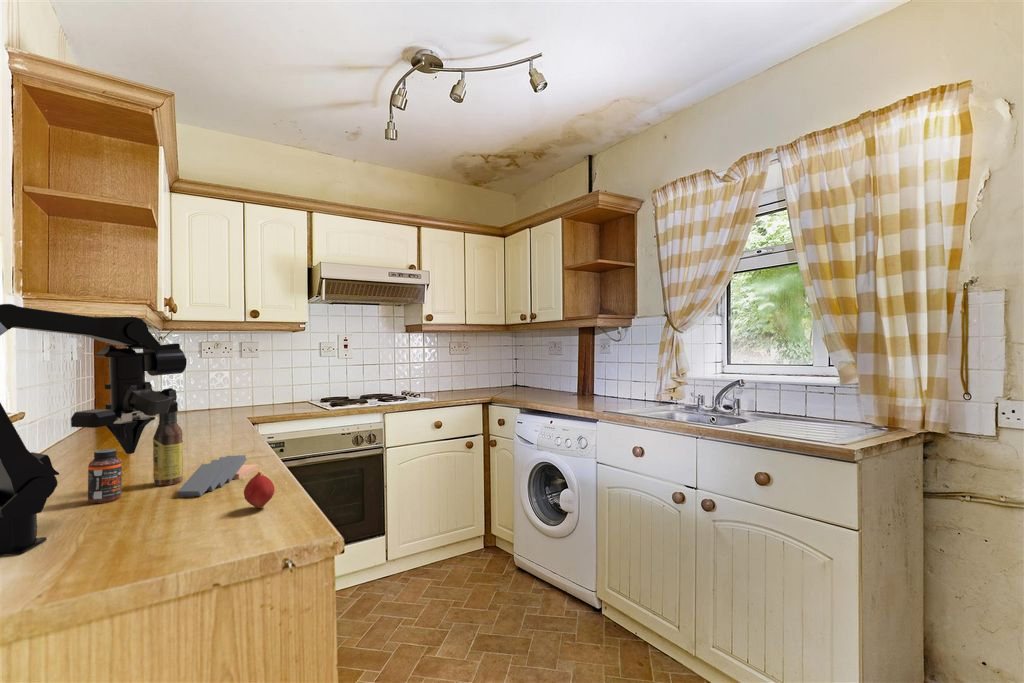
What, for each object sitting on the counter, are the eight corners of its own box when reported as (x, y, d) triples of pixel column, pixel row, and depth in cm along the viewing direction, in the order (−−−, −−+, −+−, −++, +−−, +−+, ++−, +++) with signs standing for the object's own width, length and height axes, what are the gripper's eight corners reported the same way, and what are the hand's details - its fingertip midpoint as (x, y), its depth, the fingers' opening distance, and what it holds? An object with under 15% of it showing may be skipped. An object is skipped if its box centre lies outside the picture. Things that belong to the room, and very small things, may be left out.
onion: (237, 510, 105) (237, 472, 105) (262, 502, 110) (262, 466, 110) (255, 514, 102) (255, 475, 102) (280, 506, 107) (279, 469, 107)
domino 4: (228, 476, 126) (245, 455, 135) (208, 477, 126) (226, 456, 135) (229, 482, 127) (246, 460, 136) (209, 483, 126) (227, 461, 136)
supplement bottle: (102, 505, 109) (102, 453, 109) (80, 503, 110) (80, 452, 110) (128, 496, 115) (128, 448, 115) (107, 495, 116) (107, 447, 116)
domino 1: (199, 491, 114) (222, 463, 123) (177, 491, 114) (202, 463, 123) (201, 496, 115) (223, 469, 124) (179, 496, 115) (203, 469, 124)
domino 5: (239, 473, 130) (258, 464, 140) (220, 473, 130) (241, 464, 140) (239, 479, 130) (258, 470, 140) (220, 479, 130) (241, 470, 140)
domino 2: (211, 485, 118) (232, 459, 127) (190, 485, 118) (212, 459, 127) (212, 491, 119) (233, 464, 128) (191, 491, 119) (214, 464, 128)
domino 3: (219, 482, 122) (239, 456, 131) (199, 482, 122) (220, 457, 131) (221, 487, 122) (240, 461, 132) (201, 487, 122) (221, 462, 132)
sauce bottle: (156, 481, 128) (156, 404, 128) (185, 478, 131) (184, 403, 131) (150, 488, 122) (150, 407, 122) (180, 485, 125) (180, 406, 125)
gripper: (117, 383, 91) (120, 468, 91) (198, 374, 109) (200, 444, 110) (67, 383, 93) (70, 465, 93) (155, 373, 111) (157, 442, 112)
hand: (130, 453), depth 102 cm, fingers closed
